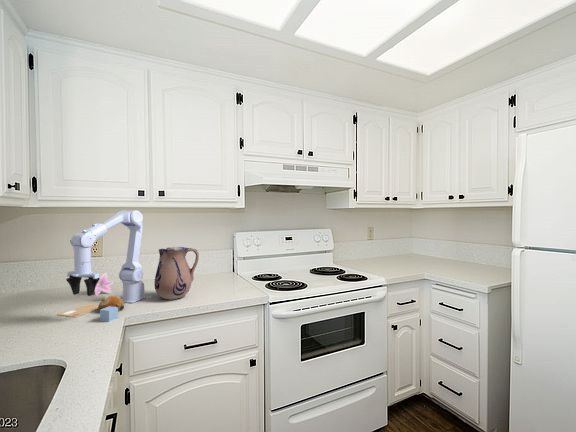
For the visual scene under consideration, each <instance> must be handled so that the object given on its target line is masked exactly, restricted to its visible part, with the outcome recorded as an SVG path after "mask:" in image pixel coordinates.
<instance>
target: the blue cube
mask: <svg viewBox="0 0 576 432" xmlns="http://www.w3.org/2000/svg"><path fill="white" fill-rule="evenodd" d="M116 319H119V312H118V307H111V306H109V307H106V308H103V309H101V310H100V312H99V321H101V322H108V323H110V322H112V321H114V320H116Z"/></svg>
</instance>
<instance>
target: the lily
mask: <svg viewBox="0 0 576 432" xmlns="http://www.w3.org/2000/svg"><path fill="white" fill-rule="evenodd" d="M99 278H100V280H99V281H98V283H97V285H96V287H95V290H94V294H95V296H98V295H99V294H101V292H104V293H108V294H112V290H111V287H110V286H111V285H113V284H114V283H115V282H114V281H113V280H112V281H111V280H108V274H107V272H104V273H103V274H102V275H101V276H99ZM85 288H86V289H87V287H86V286H85Z"/></svg>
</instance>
